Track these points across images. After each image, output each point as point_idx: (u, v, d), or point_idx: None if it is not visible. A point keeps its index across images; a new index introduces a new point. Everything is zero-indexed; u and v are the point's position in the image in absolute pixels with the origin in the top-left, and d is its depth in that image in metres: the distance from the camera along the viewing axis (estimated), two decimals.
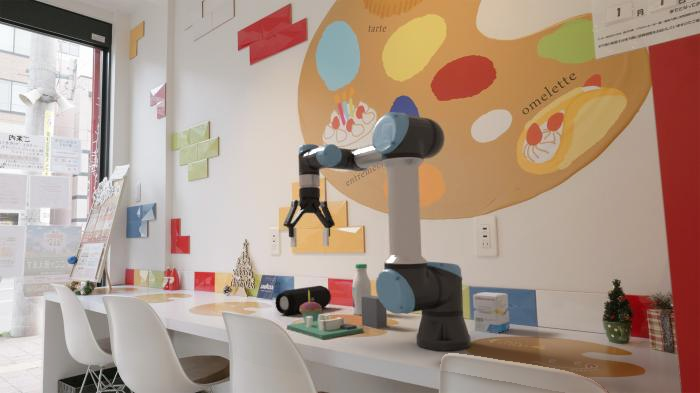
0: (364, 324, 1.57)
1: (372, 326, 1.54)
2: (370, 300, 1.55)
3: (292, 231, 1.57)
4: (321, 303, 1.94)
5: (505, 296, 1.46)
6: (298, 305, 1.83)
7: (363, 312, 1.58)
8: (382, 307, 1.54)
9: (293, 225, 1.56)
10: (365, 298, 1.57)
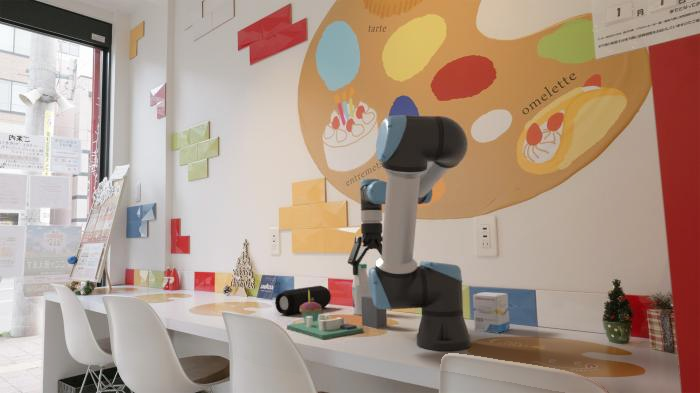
0: (364, 324, 1.57)
1: (372, 326, 1.54)
2: (370, 300, 1.55)
3: (356, 269, 1.53)
4: (321, 303, 1.94)
5: (505, 296, 1.46)
6: (298, 305, 1.83)
7: (363, 312, 1.58)
8: None
9: (358, 263, 1.53)
10: (365, 298, 1.57)
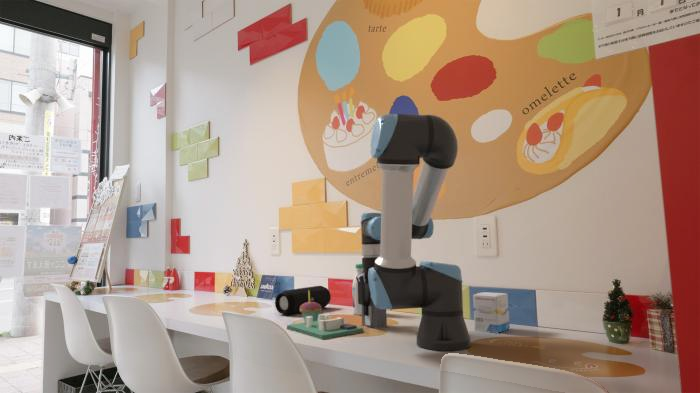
0: (364, 324, 1.57)
1: (372, 326, 1.54)
2: (370, 300, 1.55)
3: (367, 309, 1.54)
4: (321, 303, 1.94)
5: (505, 296, 1.46)
6: (298, 305, 1.83)
7: None
8: None
9: (368, 303, 1.54)
10: None
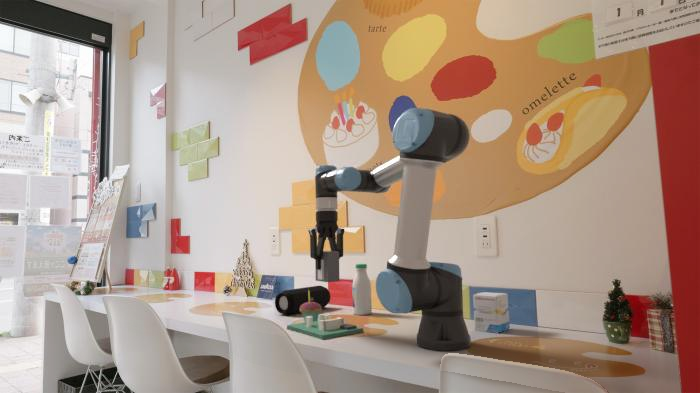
0: (317, 279, 1.54)
1: (324, 280, 1.51)
2: (323, 254, 1.52)
3: (319, 263, 1.51)
4: (320, 303, 1.94)
5: (505, 296, 1.46)
6: (297, 305, 1.83)
7: None
8: (334, 261, 1.51)
9: (320, 257, 1.51)
10: None
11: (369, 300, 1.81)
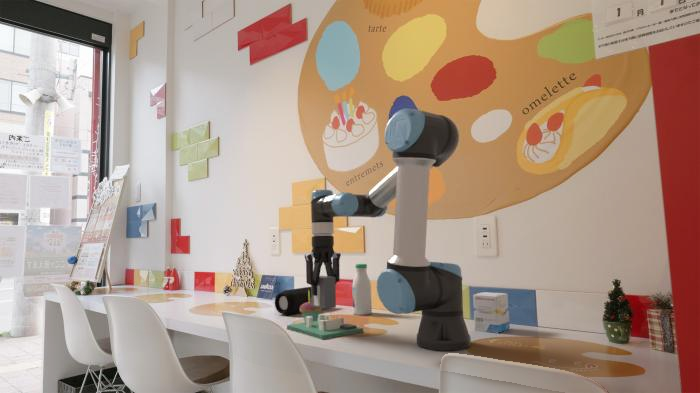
0: (313, 304, 1.53)
1: (320, 306, 1.49)
2: (319, 279, 1.51)
3: (316, 289, 1.50)
4: None
5: (505, 296, 1.46)
6: (297, 305, 1.83)
7: None
8: (331, 287, 1.50)
9: (316, 283, 1.49)
10: None
11: (369, 300, 1.81)
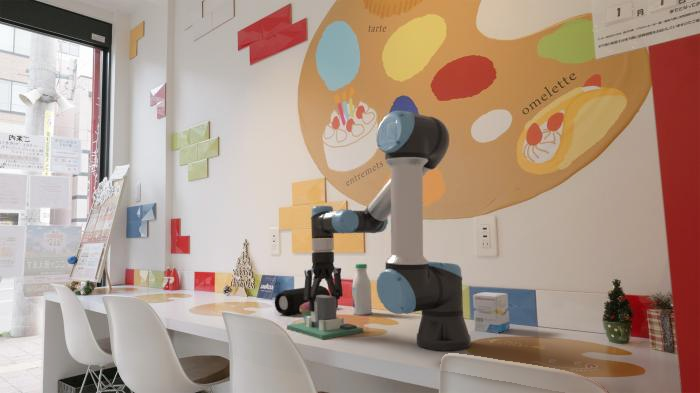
0: (314, 324, 1.52)
1: None
2: (319, 300, 1.50)
3: (313, 305, 1.49)
4: None
5: (505, 296, 1.46)
6: (297, 305, 1.83)
7: None
8: (331, 307, 1.49)
9: (314, 299, 1.48)
10: None
11: (369, 300, 1.81)
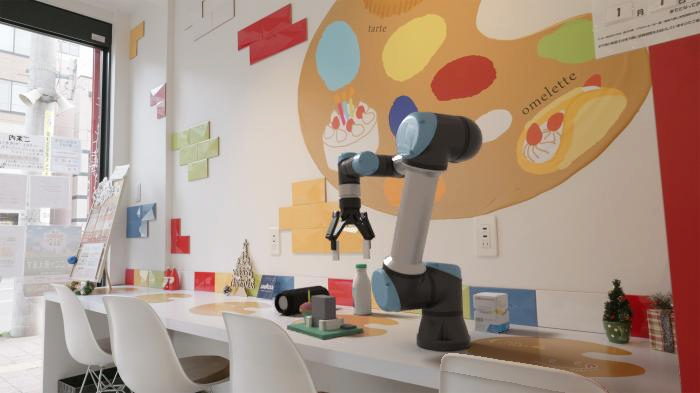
0: (314, 324, 1.52)
1: None
2: (319, 300, 1.50)
3: (335, 244, 1.48)
4: None
5: (505, 296, 1.46)
6: (297, 305, 1.83)
7: (313, 312, 1.53)
8: (331, 307, 1.49)
9: (336, 237, 1.48)
10: (315, 297, 1.52)
11: (369, 300, 1.81)
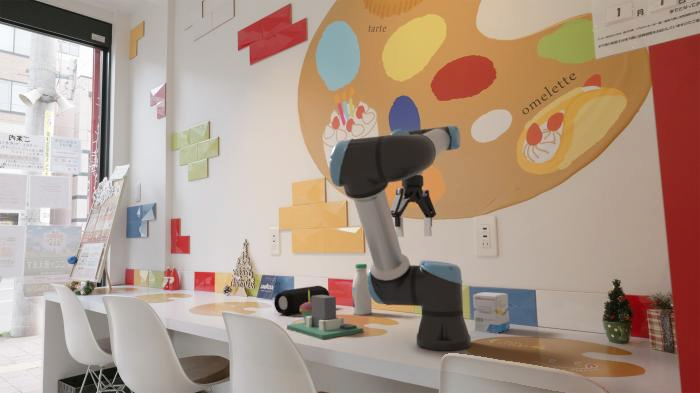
0: (314, 324, 1.52)
1: None
2: (319, 300, 1.50)
3: (399, 220, 1.51)
4: None
5: (505, 296, 1.46)
6: (297, 305, 1.83)
7: (313, 312, 1.53)
8: (331, 307, 1.49)
9: (400, 214, 1.50)
10: (315, 297, 1.52)
11: (369, 300, 1.81)
